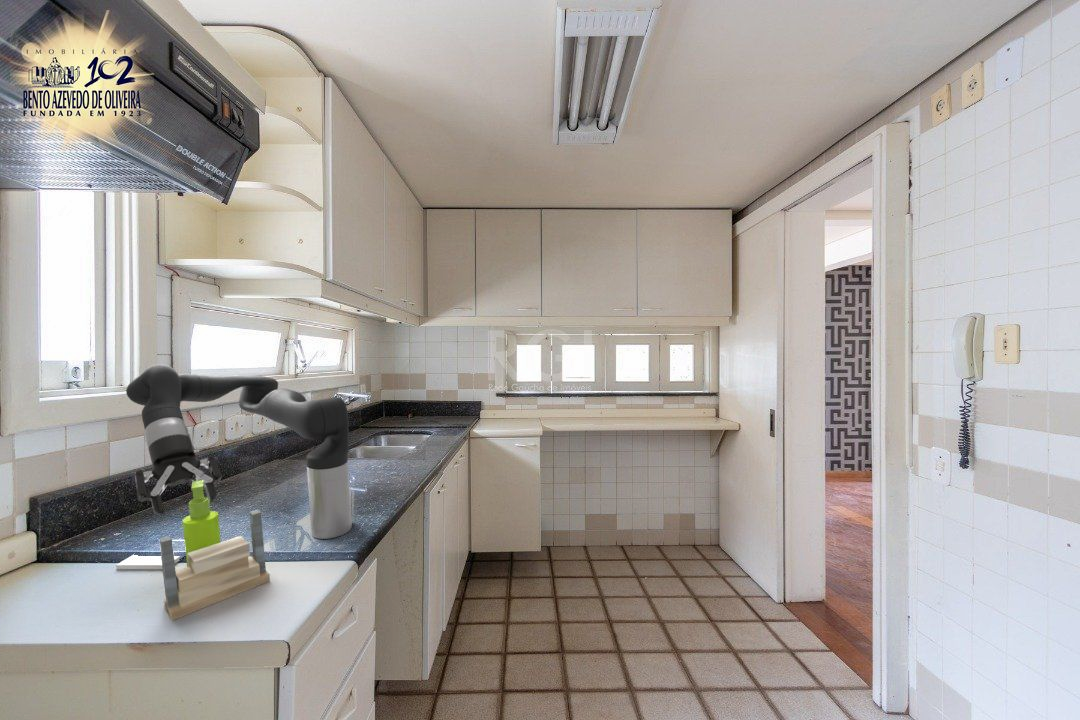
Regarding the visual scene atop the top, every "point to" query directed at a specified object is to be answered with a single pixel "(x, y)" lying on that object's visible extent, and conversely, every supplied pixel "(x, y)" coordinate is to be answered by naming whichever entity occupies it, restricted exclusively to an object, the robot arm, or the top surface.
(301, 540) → the top surface
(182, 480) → the robot arm
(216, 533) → the soap dispenser
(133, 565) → the pad
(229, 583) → the offcut rack
